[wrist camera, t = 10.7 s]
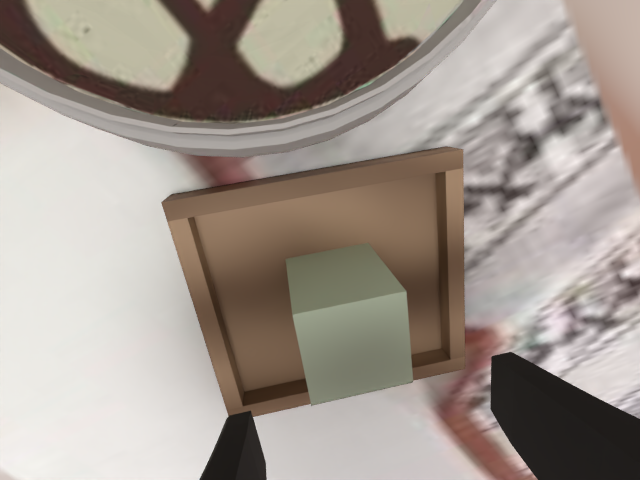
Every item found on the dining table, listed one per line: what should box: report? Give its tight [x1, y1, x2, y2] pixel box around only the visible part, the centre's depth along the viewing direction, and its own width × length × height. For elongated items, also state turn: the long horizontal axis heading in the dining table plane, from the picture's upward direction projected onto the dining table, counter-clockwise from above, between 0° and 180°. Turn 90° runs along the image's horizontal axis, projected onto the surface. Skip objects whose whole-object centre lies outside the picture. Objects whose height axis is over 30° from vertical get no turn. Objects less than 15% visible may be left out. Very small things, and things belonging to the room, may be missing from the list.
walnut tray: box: [161, 147, 465, 417], centre depth 17 cm, size 12×13×2 cm
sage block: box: [286, 243, 413, 406], centre depth 15 cm, size 4×4×5 cm
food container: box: [0, 0, 496, 157], centre depth 10 cm, size 12×6×10 cm, turn 128°
